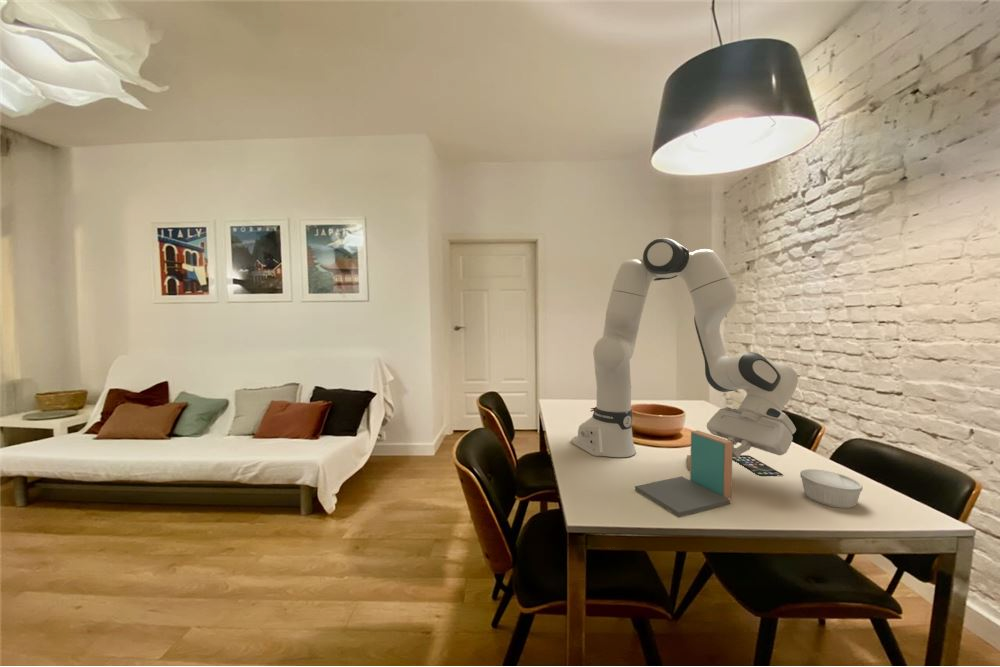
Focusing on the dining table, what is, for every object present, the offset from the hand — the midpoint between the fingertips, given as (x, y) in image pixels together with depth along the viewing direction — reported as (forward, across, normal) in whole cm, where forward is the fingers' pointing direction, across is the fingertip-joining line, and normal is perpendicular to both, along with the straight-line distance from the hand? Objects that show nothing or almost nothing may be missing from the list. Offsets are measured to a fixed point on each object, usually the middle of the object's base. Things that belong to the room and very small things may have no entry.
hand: (731, 454), depth 98 cm
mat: (+18, 0, -7) cm, 19 cm away
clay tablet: (+3, -12, +10) cm, 15 cm away
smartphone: (-7, -7, +19) cm, 22 cm away
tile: (+11, 0, 0) cm, 11 cm away
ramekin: (-5, +14, +17) cm, 22 cm away
